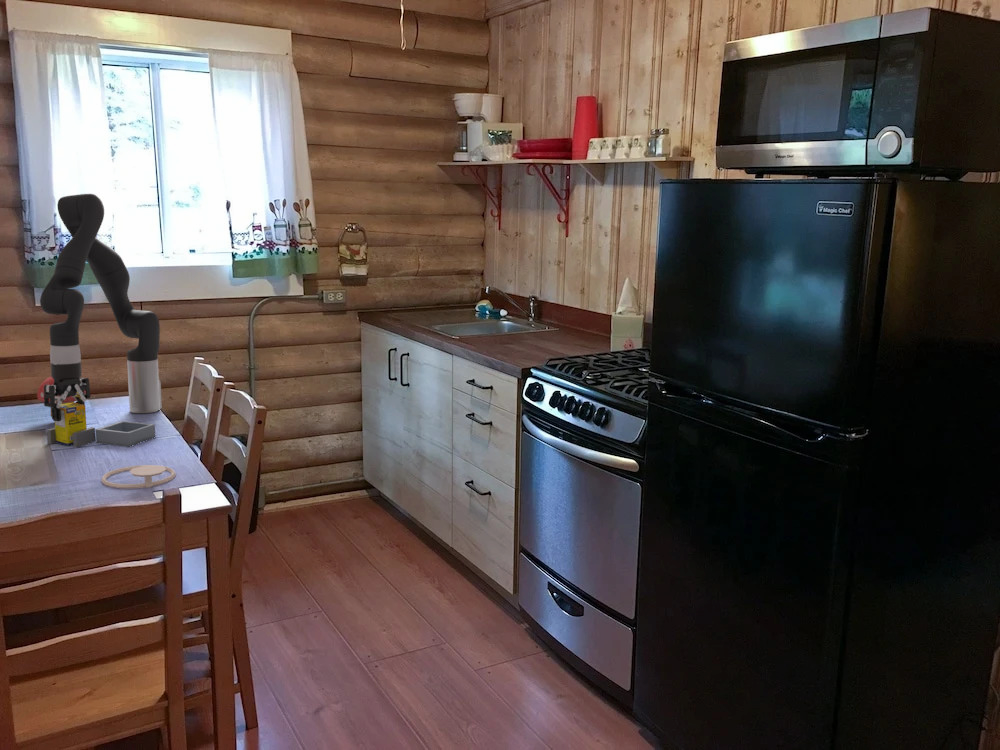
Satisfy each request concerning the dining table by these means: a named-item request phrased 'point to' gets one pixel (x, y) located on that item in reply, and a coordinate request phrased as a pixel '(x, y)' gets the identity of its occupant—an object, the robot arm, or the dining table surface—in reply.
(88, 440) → the grey blocks
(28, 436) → the dining table surface
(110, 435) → the tray
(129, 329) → the robot arm
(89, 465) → the dining table surface
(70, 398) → the decorative mushroom
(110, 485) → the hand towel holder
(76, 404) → the supplement box
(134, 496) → the dining table surface
